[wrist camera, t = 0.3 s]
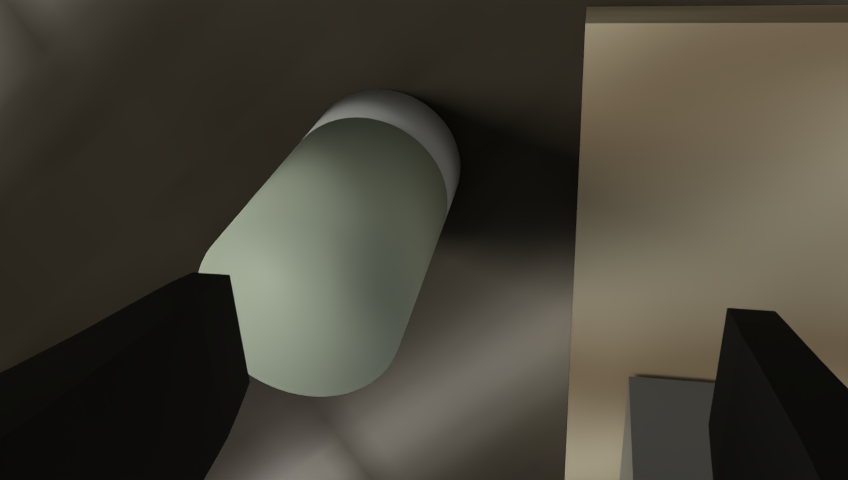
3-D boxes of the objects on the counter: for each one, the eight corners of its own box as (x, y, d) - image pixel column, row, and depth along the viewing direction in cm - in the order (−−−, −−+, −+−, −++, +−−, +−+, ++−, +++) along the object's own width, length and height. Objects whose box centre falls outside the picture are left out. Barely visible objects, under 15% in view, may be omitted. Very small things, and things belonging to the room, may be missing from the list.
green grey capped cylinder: (462, 234, 22) (408, 404, 16) (320, 226, 22) (217, 388, 16) (458, 90, 20) (394, 222, 14) (302, 88, 20) (177, 213, 14)
